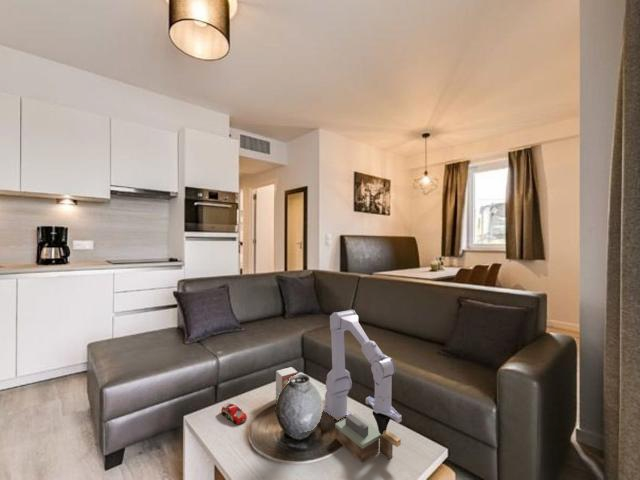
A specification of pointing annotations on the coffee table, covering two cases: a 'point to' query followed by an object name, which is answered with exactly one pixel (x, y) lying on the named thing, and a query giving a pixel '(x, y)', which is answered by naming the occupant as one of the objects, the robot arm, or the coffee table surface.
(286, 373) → the small box
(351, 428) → the toolbox lid
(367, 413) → the coffee table surface
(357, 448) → the toolbox
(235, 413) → the race car
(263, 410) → the coffee table surface
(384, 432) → the wooden block
